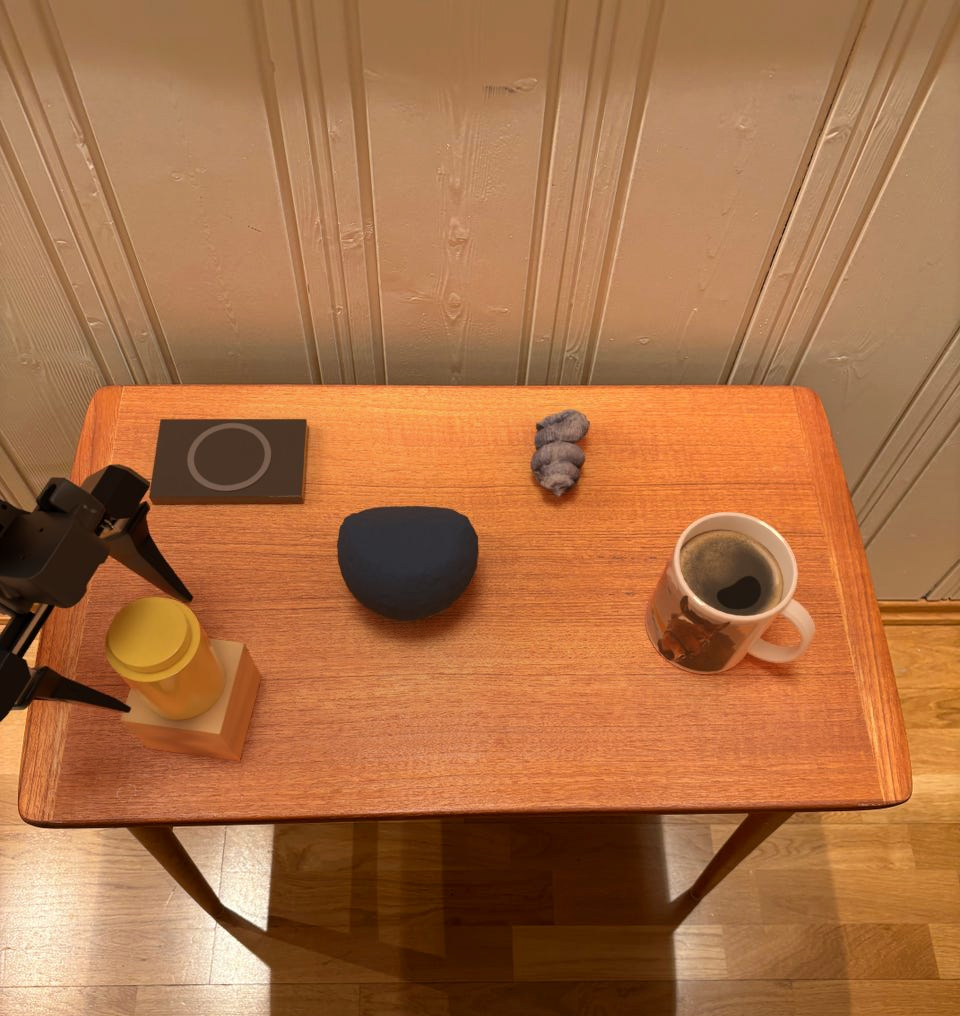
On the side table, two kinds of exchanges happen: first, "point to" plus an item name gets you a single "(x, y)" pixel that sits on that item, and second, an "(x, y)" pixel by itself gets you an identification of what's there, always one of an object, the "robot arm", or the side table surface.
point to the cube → (205, 713)
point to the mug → (726, 596)
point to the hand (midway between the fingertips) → (160, 654)
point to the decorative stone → (407, 559)
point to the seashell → (559, 451)
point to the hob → (230, 461)
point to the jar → (165, 657)
